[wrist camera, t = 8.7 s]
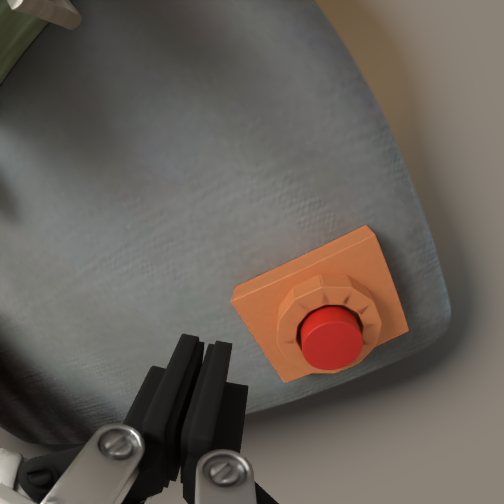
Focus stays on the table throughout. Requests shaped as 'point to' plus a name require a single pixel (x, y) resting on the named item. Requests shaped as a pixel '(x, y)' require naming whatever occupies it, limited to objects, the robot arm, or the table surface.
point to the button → (331, 338)
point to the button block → (321, 300)
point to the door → (29, 25)
